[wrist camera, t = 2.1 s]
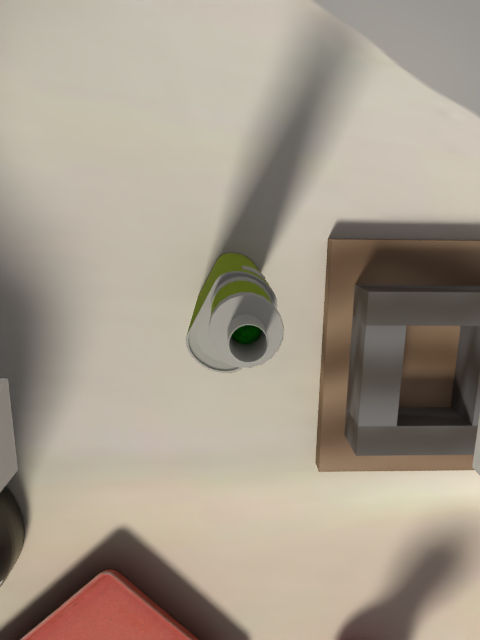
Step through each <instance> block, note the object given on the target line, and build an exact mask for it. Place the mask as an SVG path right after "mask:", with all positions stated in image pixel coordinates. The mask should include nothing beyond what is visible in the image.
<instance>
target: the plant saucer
mask: <svg viewBox="0 0 480 640" xmlns="http://www.w3.org/2000/svg"><path fill="white" fill-rule="evenodd" d="M20 640H199V639H198V638H196V637H195V636H194V635H193V634H192V633H191V632H189V631H188V630H187V629H186V628H185V627H183V626H182V625H181V624H180V623H179V622H177V621H176V620H175V619H174V618H173V617H171V616H170V615H169V614H168V613H167V612H166V611H164V610H163V609H162V608H161V607H160V606H158V605H157V604H156V603H155V602H154V601H153V600H151V599H150V598H149V597H148V596H147V595H145V594H144V593H143V592H142V591H141V590H140V589H138V588H137V587H136V586H135V585H134V584H133V583H131V582H130V581H129V580H128V579H127V578H125V577H124V576H123V575H122V574H121V573H119V572H118V571H116V570H112V569H108V570H104V571H102V572H101V573H99V574H98V575H97V576H95V577H94V578H93V579H92V580H91V581H89V582H88V583H87V584H86V585H85V586H83V587H82V588H81V589H80V590H79V591H77V592H76V593H75V594H74V595H73V596H71V597H70V598H69V599H68V600H67V601H65V602H64V603H63V604H62V605H61V606H59V607H58V608H57V609H56V610H55V611H53V612H52V613H51V614H50V615H49V616H47V617H46V618H45V619H44V620H43V621H41V622H40V623H39V624H38V625H37V626H35V627H34V628H33V629H32V630H31V631H29V632H28V633H27V634H26V635H25V636H23V637H22V638H21V639H20Z"/></svg>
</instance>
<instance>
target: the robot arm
mask: <svg viewBox="0 0 480 640" xmlns="http://www.w3.org/2000/svg"><path fill="white" fill-rule="evenodd" d="M472 468H473V469H474V470H475V471H476V472H477V473H478V474H479V475H480V416H479V423H478V430H477V437H476V444H475V451H474V458H473V465H472ZM17 471H18V465H17V456H16V447H15V438H14V428H13V419H12V410H11V401H10V392H9V382H8V378H0V587H1V585H2V584H3V583H4V581H5V580H6V578H7V577H8V575H9V573H10V572H11V570H12V568H13V567H14V565H15V563H16V561H17V559H18V557H19V555H20V553H21V549H22V545H23V539H24V526H23V520H22V516H21V513H20V510H19V507H18V505H17V503H16V501H15V499H14V497H13V496H12V494H11V493H10V491H9V490H8V489H7V488H6V485H7V483H8V482H9V481H10V480H11V478H12V477H13V476H14V475H15V473H16V472H17Z"/></svg>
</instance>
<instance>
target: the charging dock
mask: <svg viewBox="0 0 480 640" xmlns="http://www.w3.org/2000/svg"><path fill="white" fill-rule="evenodd" d="M479 416H480V240H405V239H328V248H327V266H326V284H325V302H324V320H323V338H322V356H321V374H320V392H319V410H318V428H317V446H316V465H317V468H318V470H319V472H335V471H433V470H474V469H473V468H472V465H473V458H474V451H475V444H476V437H477V430H478V423H479Z"/></svg>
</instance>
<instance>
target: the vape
mask: <svg viewBox="0 0 480 640" xmlns="http://www.w3.org/2000/svg"><path fill="white" fill-rule="evenodd" d="M283 328H284V327H283V323H282V320H281V316H280V314H279V312H278V311H277V299H276V296H275V294H274V292H273V291H272V289H271V288H270V286H269V285H268V283H267V282H266V280H265V277H264V276H263V275H262V274H261V273H260V271H259V270H258V269H257V267H256V266H255V264H254V263H253V262H252V261H251V260H250V259H249V258H247V257H245V256H243V255H241V254H238V253H225V254H223V255H221V256H220V257H219V258H218V259H217V261H216V263H215V265H214V267H213V269H212V271H211V273H210V274H209V276H208V278H207V280H206V282H205V284H204V286H203V288H202V290H201V292H200V294H199V296H198V299H197V302H196V306H195V309H194V312H193V316H192V319H191V323H190V326H189V330H188V333H187V337H186V345H187V348H188V351H189V353H190V354H191V356H192V357H193V358H194V359H195V360H196V361H197V362H198V363H199V364H201V365H202V366H204V367H206V368H208V369H210V370H212V371H216V372H220V373H232V372H236V371H238V370H240V369H242V368H251V367H255V366H258V365H262V364H263V363H265V362H266V361H268V360H269V359H271V358H272V357H273V356H274V354H275V353H276V352H277V351H278V349H279V347H280V345H281V342H282V340H283Z"/></svg>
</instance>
